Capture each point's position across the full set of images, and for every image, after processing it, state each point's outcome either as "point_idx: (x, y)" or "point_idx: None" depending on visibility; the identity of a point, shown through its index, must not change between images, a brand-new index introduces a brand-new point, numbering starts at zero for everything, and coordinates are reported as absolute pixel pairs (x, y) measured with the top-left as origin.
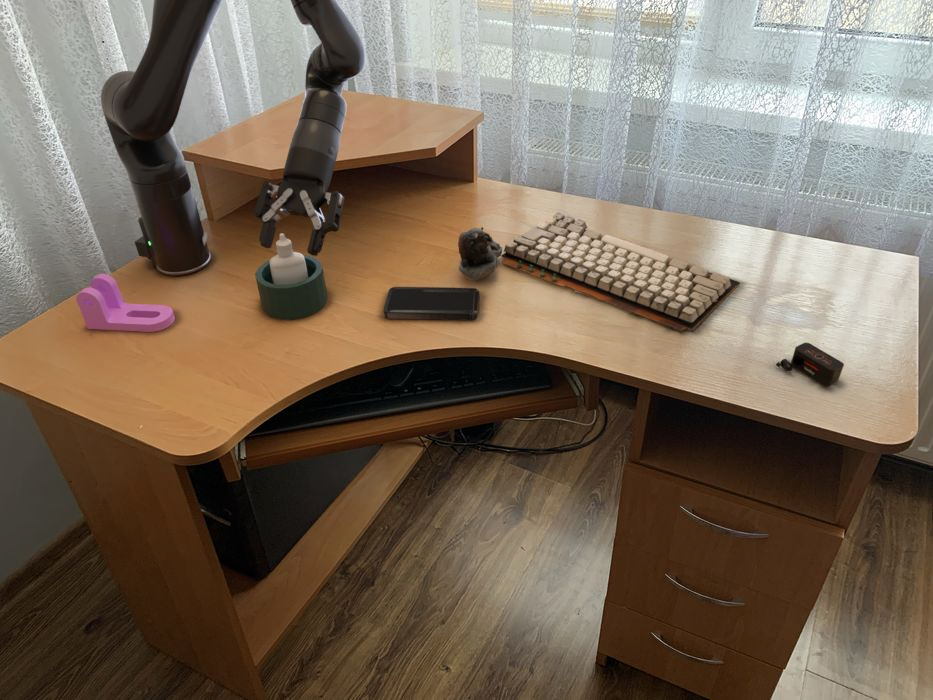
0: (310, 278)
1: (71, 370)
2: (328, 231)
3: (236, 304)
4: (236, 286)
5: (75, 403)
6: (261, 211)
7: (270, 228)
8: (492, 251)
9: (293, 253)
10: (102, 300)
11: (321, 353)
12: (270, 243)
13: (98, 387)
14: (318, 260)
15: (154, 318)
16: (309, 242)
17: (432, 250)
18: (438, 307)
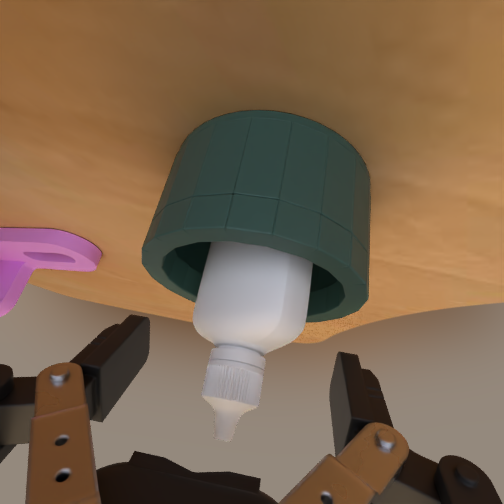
0: (342, 310)
1: (98, 292)
2: (418, 461)
3: (138, 204)
4: (56, 147)
5: (154, 313)
6: (4, 451)
7: (112, 392)
8: None
9: (261, 348)
10: (10, 297)
11: (400, 291)
12: (141, 333)
13: (151, 305)
14: (330, 256)
15: (77, 263)
16: (332, 420)
17: None
18: None
